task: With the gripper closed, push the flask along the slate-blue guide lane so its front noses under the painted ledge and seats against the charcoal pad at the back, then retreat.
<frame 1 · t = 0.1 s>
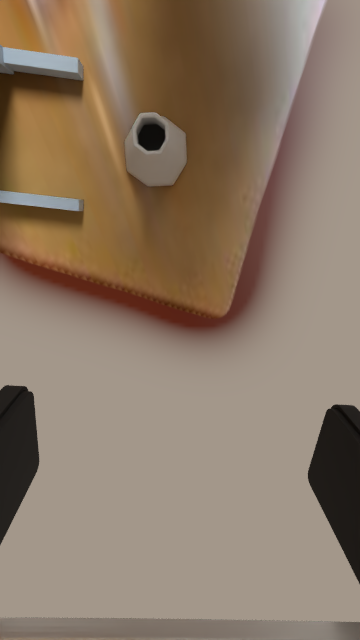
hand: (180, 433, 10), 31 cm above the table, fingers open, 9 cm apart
blue frame: (8, 134, 34), on the table
flask: (156, 153, 35), on the table
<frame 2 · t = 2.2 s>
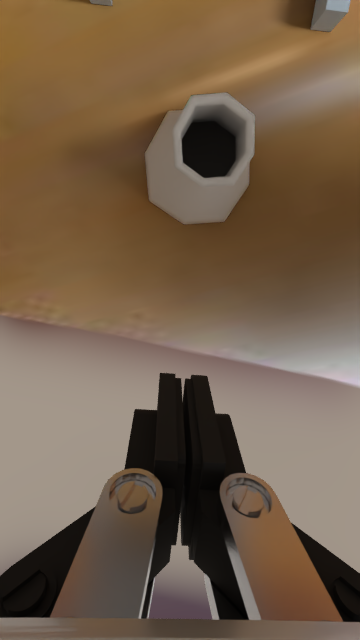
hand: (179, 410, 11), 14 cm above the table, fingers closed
flask: (197, 170, 21), on the table
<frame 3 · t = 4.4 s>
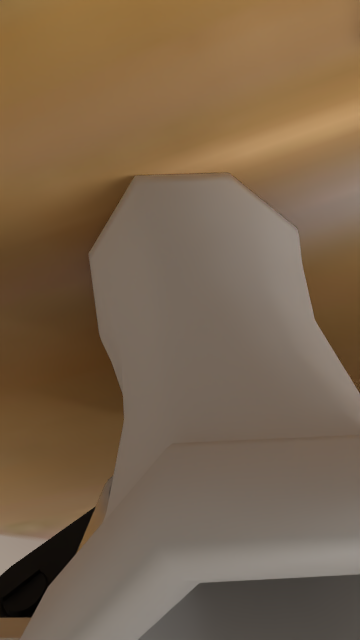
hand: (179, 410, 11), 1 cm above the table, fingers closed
flask: (192, 280, 11), on the table, touching gripper
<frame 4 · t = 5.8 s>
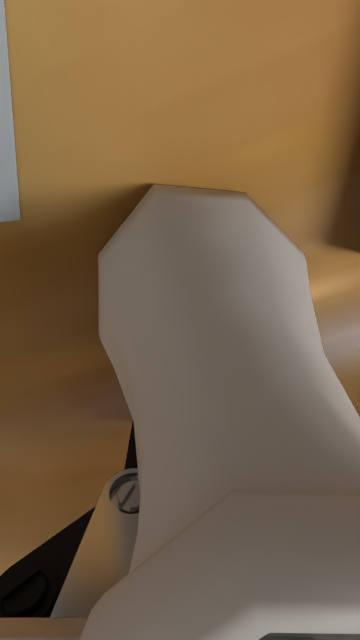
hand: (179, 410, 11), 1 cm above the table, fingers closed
flask: (196, 291, 11), on the table, touching gripper
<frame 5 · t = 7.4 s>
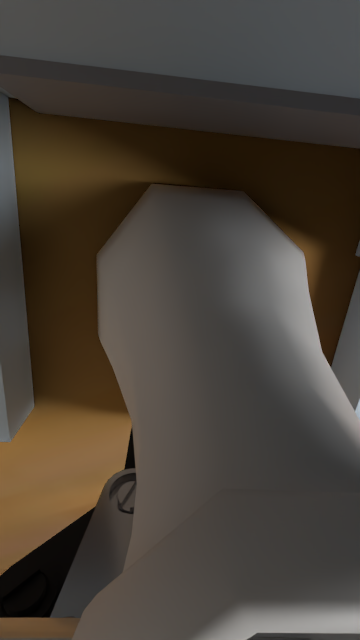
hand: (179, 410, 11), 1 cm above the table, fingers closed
blue frame: (200, 209, 10), on the table
flask: (195, 291, 11), on the table, touching gripper
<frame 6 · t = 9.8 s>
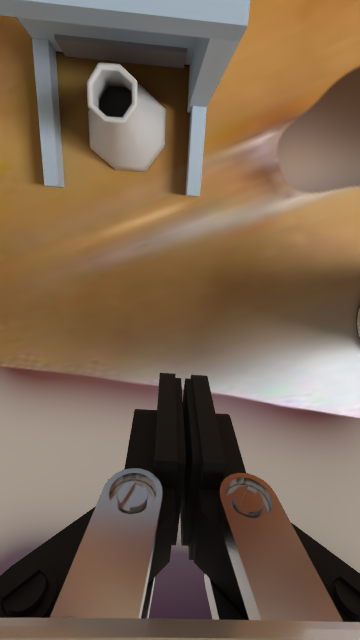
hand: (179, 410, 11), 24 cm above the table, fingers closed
blue frame: (125, 93, 27), on the table
flask: (127, 129, 28), on the table
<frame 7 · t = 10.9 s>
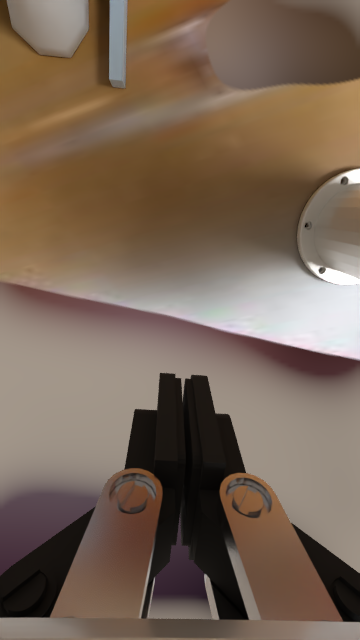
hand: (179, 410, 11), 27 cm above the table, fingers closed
flask: (51, 11, 28), on the table
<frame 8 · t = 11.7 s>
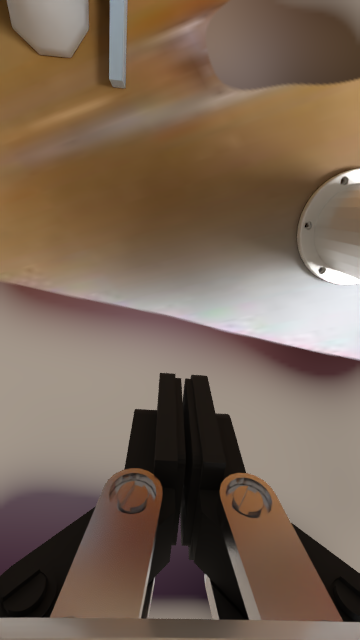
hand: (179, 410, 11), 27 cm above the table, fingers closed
flask: (51, 11, 28), on the table
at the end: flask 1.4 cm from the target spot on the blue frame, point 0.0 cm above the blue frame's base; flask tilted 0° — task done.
